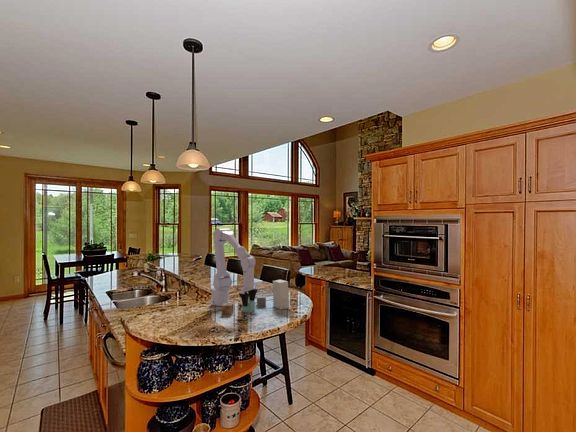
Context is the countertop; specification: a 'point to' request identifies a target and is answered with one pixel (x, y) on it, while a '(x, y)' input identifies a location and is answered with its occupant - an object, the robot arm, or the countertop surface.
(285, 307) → the skincare box
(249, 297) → the robot arm
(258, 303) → the charcoal cube
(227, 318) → the countertop surface
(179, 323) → the countertop surface
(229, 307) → the walnut cube
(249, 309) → the teal cube
